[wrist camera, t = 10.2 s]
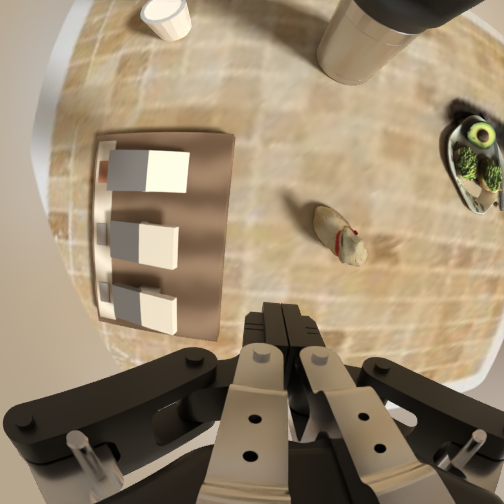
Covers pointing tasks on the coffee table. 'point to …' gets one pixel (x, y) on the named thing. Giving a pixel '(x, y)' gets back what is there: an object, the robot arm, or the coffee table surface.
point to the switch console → (172, 214)
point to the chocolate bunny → (339, 236)
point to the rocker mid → (144, 243)
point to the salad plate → (476, 162)
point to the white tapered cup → (167, 18)
